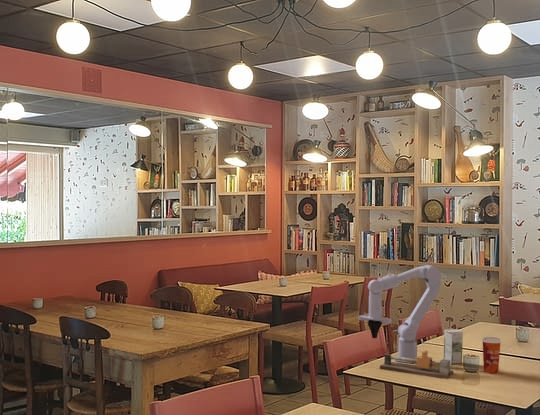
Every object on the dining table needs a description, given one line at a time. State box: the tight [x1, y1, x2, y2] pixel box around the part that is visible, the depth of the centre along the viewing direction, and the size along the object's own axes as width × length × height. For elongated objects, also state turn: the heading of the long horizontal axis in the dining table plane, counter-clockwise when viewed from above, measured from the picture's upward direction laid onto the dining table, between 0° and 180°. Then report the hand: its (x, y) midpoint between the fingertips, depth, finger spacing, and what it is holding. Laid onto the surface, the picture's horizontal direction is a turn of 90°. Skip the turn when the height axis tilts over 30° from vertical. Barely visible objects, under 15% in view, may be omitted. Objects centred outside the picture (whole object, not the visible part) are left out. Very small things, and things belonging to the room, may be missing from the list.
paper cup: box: [481, 336, 502, 374], centre depth 270 cm, size 8×8×14 cm
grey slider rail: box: [379, 353, 454, 380], centre depth 269 cm, size 10×28×6 cm, turn 58°
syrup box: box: [443, 328, 464, 365], centre depth 286 cm, size 6×6×14 cm
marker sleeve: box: [416, 350, 433, 369], centre depth 267 cm, size 4×5×6 cm
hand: (374, 337), depth 287 cm, fingers closed
